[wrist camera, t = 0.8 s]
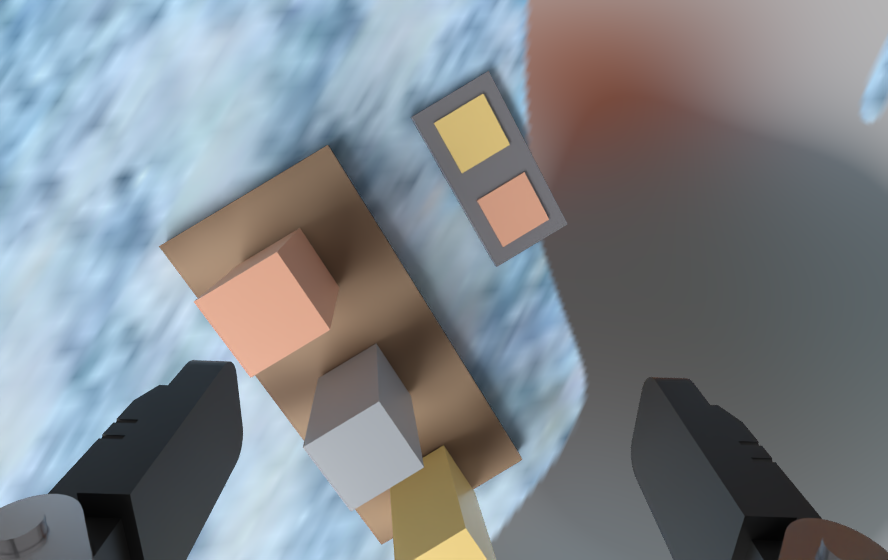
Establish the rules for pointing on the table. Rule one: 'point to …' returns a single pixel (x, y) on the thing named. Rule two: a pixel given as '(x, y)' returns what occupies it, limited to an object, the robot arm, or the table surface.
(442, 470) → the yellow tall block
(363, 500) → the grey rectangular block
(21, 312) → the table surface
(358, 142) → the table surface
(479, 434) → the keypad base
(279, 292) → the salmon pink block
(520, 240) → the card
